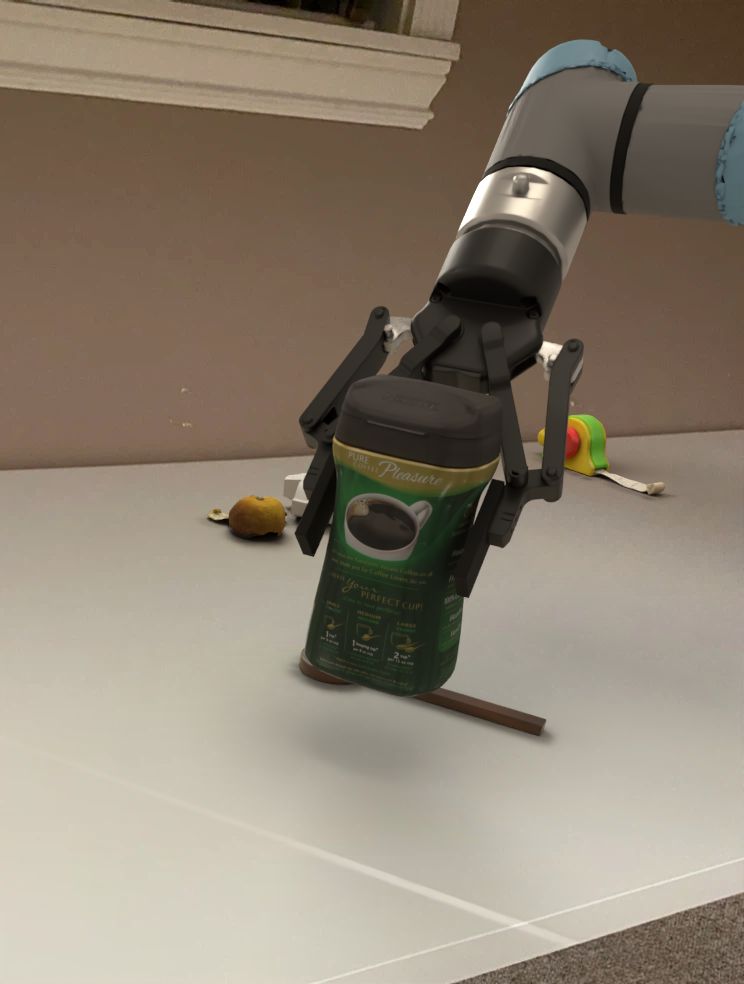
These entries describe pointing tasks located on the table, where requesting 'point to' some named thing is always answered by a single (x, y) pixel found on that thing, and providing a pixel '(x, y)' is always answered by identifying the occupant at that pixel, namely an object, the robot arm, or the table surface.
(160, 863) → the table surface
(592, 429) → the toy measuring tape
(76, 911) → the table surface
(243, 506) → the fruit
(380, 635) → the coffee jar
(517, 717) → the spoon
